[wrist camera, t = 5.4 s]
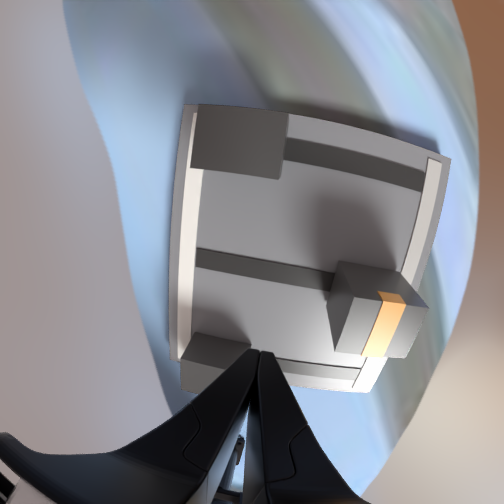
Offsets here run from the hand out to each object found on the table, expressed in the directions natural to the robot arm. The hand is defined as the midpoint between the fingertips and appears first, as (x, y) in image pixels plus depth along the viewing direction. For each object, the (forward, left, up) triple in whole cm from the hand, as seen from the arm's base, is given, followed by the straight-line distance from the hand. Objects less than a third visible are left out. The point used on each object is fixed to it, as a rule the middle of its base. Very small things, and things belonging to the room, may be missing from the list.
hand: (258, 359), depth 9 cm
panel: (0, -2, -9) cm, 9 cm away
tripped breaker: (0, -6, -8) cm, 10 cm away
